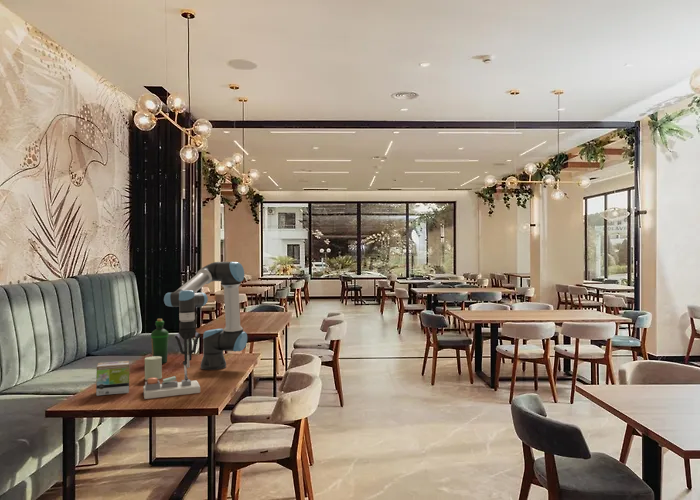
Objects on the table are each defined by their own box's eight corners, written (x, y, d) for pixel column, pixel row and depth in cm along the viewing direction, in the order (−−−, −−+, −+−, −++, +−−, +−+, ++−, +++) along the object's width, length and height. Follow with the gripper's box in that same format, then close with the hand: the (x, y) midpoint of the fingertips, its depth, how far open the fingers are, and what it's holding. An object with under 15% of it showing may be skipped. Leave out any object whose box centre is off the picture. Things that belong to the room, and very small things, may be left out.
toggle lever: (188, 379, 262) (186, 359, 261) (188, 380, 259) (187, 360, 259) (183, 379, 261) (182, 360, 260) (184, 380, 258) (182, 361, 258)
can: (156, 380, 281) (155, 358, 281) (141, 380, 283) (140, 358, 283) (165, 376, 290) (165, 355, 290) (150, 376, 292) (150, 355, 292)
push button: (157, 383, 257) (157, 377, 257) (157, 385, 252) (157, 379, 252) (147, 384, 255) (147, 378, 255) (147, 386, 250) (147, 380, 250)
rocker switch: (175, 378, 260) (175, 375, 260) (176, 379, 256) (175, 377, 256) (163, 381, 257) (162, 379, 257) (163, 383, 254) (163, 380, 254)
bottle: (162, 360, 335) (162, 317, 335) (172, 362, 328) (171, 318, 328) (147, 363, 326) (147, 319, 326) (157, 365, 320) (157, 320, 320)
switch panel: (196, 385, 269) (196, 374, 269) (200, 392, 256) (200, 380, 256) (143, 391, 258) (143, 380, 258) (144, 399, 245) (144, 386, 245)
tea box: (96, 396, 250) (95, 366, 251) (97, 391, 260) (97, 362, 260) (129, 393, 256) (129, 363, 257) (129, 388, 266) (129, 359, 266)
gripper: (175, 322, 254) (175, 369, 254) (201, 320, 260) (201, 367, 259) (173, 320, 261) (174, 367, 261) (198, 319, 266) (199, 364, 266)
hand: (188, 367), depth 260 cm, fingers closed
